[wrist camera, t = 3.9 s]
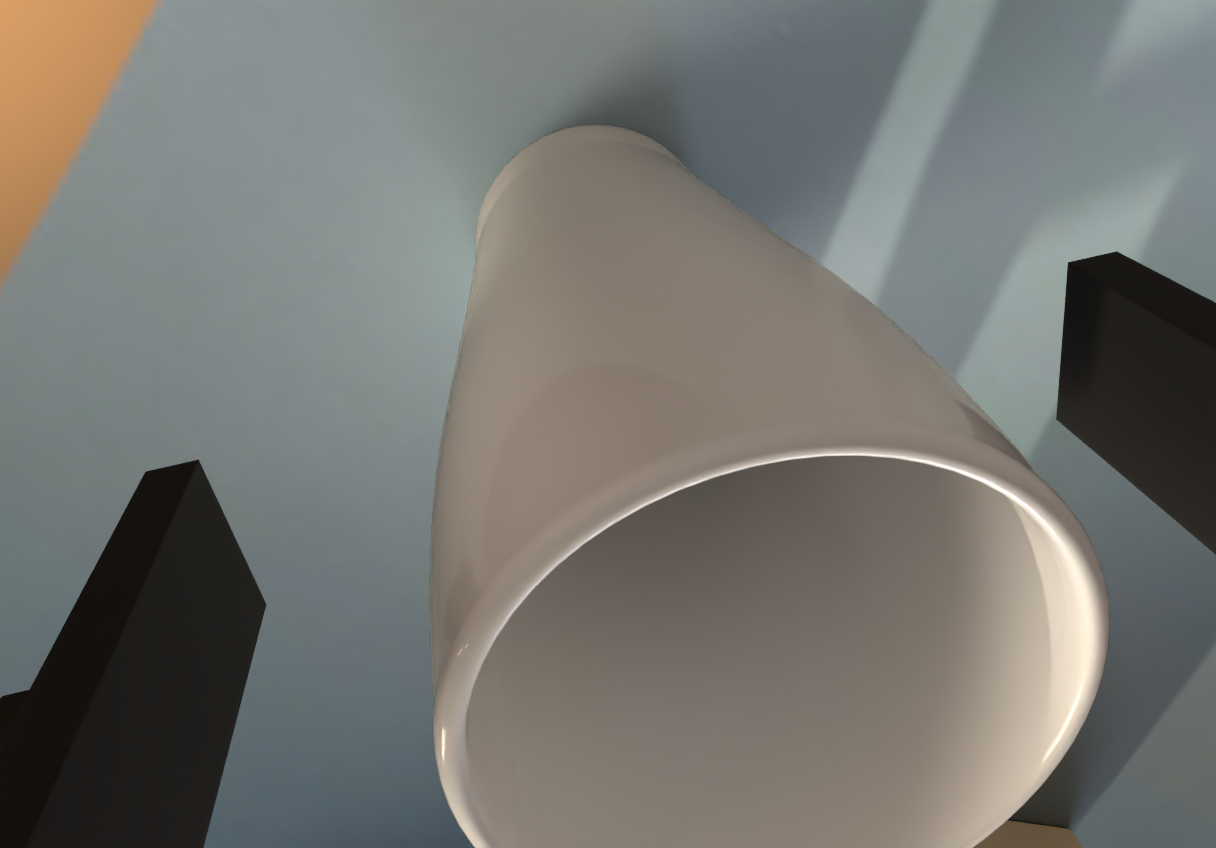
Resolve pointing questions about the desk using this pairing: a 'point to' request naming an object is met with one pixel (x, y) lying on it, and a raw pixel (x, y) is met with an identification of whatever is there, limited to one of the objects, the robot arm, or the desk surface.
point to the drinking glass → (729, 542)
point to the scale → (1029, 837)
